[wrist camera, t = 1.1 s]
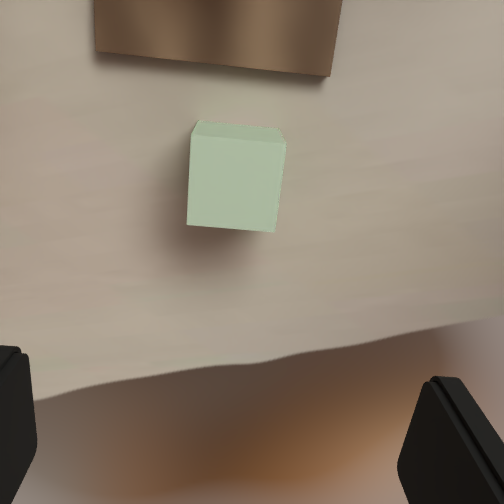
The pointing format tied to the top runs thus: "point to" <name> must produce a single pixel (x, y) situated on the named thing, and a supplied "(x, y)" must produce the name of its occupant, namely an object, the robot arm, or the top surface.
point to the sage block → (235, 176)
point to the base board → (223, 32)
